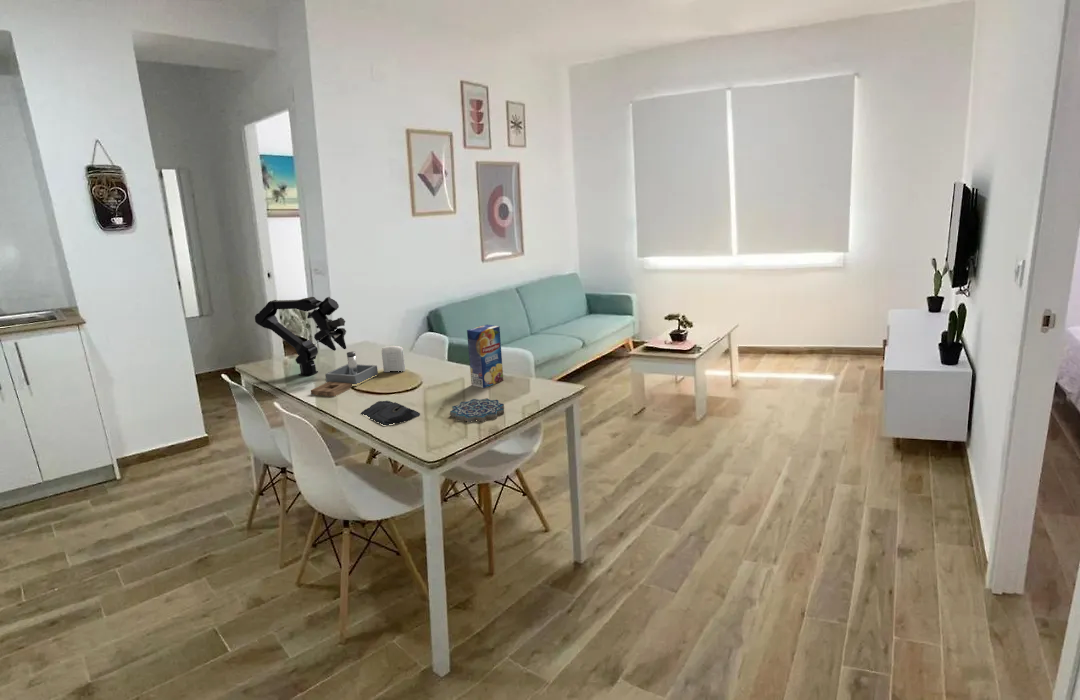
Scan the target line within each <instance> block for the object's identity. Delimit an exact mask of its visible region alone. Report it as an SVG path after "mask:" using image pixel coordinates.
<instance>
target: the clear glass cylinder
mask: <svg viewBox="0 0 1080 700" xmlns="http://www.w3.org/2000/svg"><path fill="white" fill-rule="evenodd" d="M346 357H347V364H348V366H349V373H350V375H356V374H358V370H357V364H358V363H357V358H356V357H357V356H356V351H347V352H346Z"/></svg>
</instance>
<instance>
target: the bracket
mask: <svg viewBox="0 0 1080 700" xmlns="http://www.w3.org/2000/svg"><path fill="white" fill-rule="evenodd" d="M351 386H352V383H343V382H330V381H329V382H327V383H326V382H325V383H323V384H320V385H318V386H317V387H315V388H313V389H310V395H311V394H314V396H321V395H325V396H324V397H332V396H335V397H337V396H338V395H340V394H343V393H345V392H346V391H348V390H350V388H351ZM352 387H353V386H352ZM351 389H352V388H351ZM336 395H337V396H336Z"/></svg>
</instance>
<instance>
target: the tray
mask: <svg viewBox="0 0 1080 700" xmlns="http://www.w3.org/2000/svg"><path fill="white" fill-rule="evenodd" d="M357 370H358V374H356V375H350V373H349V366H348V363H347V364H344V365H342V366H340V367H337V368H336V369H333V370H331V371H329V372H327V373H325V374H324V375H325V383H327V382H329V381H330V382H343V383H352V384H357V383H360V382H362V381H364V380H366V379H368V378H371V377H372V376H375V375H377V374H378V375H379V371H378V366H377V365H373V364H372V365H371V364H361V363H360V364H358V363H357Z"/></svg>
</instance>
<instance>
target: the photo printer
mask: <svg viewBox="0 0 1080 700" xmlns="http://www.w3.org/2000/svg"><path fill="white" fill-rule="evenodd" d="M381 359H382V366H383V372H384V373H391V372H390V371H398V372H397V373H403V372H402V371H404V372H405V371H406V362H405V354H404V347H402V346H399V345H387V346H383V347H381ZM399 371H401V372H399Z"/></svg>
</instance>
